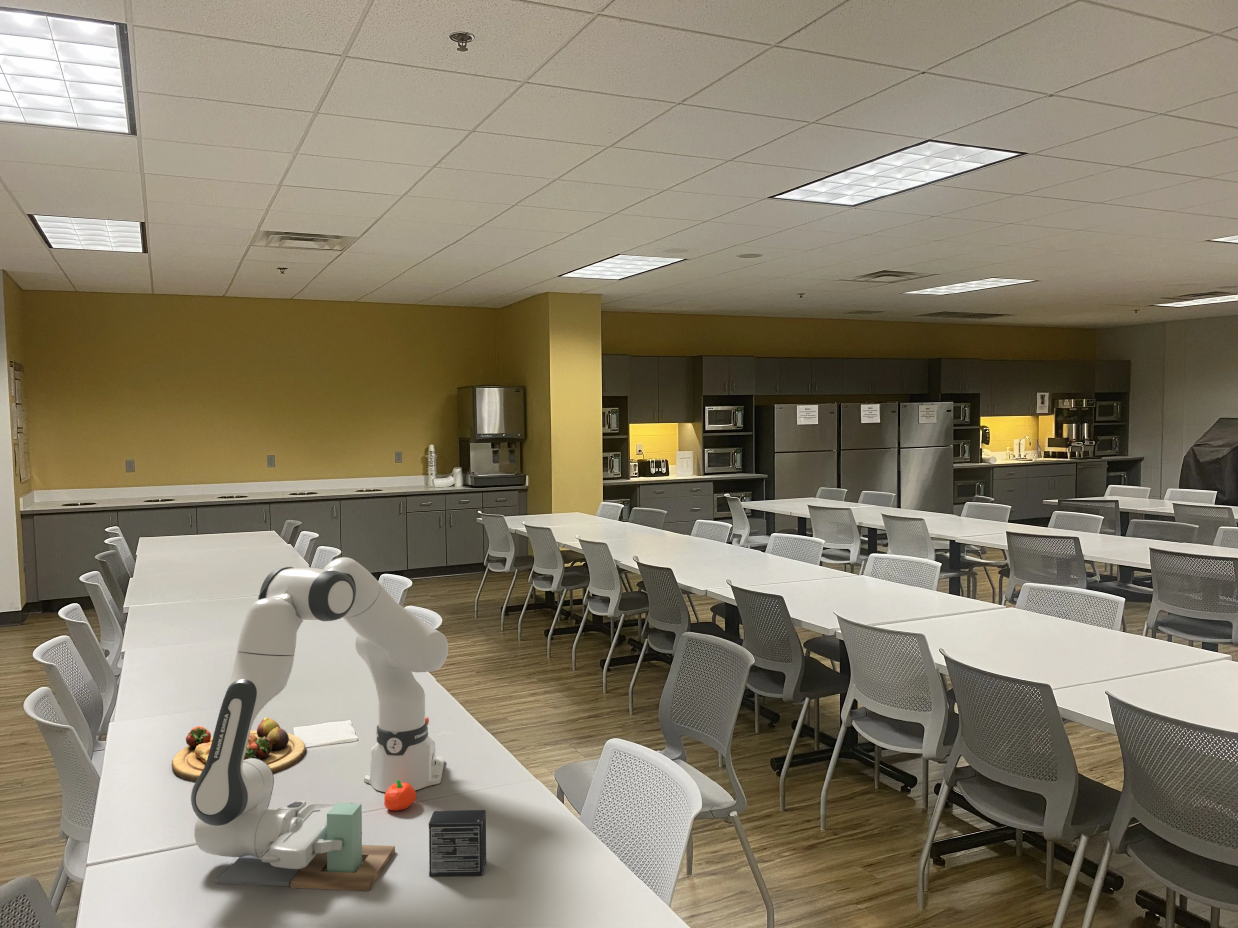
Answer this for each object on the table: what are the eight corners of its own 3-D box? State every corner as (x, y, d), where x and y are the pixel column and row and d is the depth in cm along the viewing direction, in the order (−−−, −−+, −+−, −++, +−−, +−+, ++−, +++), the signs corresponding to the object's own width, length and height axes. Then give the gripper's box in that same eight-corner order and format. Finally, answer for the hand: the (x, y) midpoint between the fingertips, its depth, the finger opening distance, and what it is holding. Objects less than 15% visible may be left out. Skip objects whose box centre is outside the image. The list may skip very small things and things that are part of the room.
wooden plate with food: (143, 768, 220) (143, 736, 220) (249, 729, 248) (249, 701, 248) (228, 796, 205) (228, 762, 205) (331, 751, 233) (331, 721, 233)
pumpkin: (385, 819, 193) (381, 791, 192) (385, 804, 201) (381, 777, 200) (418, 811, 195) (414, 783, 194) (416, 796, 202) (413, 770, 202)
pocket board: (323, 848, 178) (323, 843, 178) (394, 851, 177) (394, 845, 177) (290, 887, 163) (290, 881, 163) (368, 890, 162) (368, 884, 162)
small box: (487, 859, 174) (487, 807, 173) (483, 876, 167) (483, 822, 167) (434, 860, 173) (434, 808, 173) (428, 877, 167) (427, 823, 167)
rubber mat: (253, 847, 178) (253, 843, 178) (319, 850, 177) (319, 846, 177) (217, 883, 164) (217, 878, 164) (289, 885, 163) (289, 881, 163)
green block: (337, 861, 172) (336, 802, 172) (362, 862, 172) (361, 803, 172) (327, 874, 167) (326, 813, 167) (352, 875, 167) (352, 814, 167)
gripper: (254, 843, 160) (327, 845, 159) (301, 796, 180) (367, 798, 179) (254, 876, 160) (327, 879, 159) (302, 826, 181) (367, 828, 180)
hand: (349, 836), depth 170 cm, fingers closed on green block, 5 cm apart
